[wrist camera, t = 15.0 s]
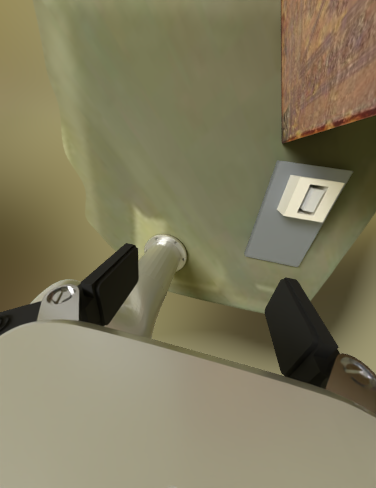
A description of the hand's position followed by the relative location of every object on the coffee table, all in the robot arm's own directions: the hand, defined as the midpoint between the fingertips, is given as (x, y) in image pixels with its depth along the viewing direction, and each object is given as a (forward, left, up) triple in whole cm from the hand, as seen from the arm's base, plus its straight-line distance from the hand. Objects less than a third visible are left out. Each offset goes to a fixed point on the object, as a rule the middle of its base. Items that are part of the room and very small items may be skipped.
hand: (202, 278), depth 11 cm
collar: (+11, -13, -29) cm, 33 cm away
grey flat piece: (+6, -16, -30) cm, 35 cm away
